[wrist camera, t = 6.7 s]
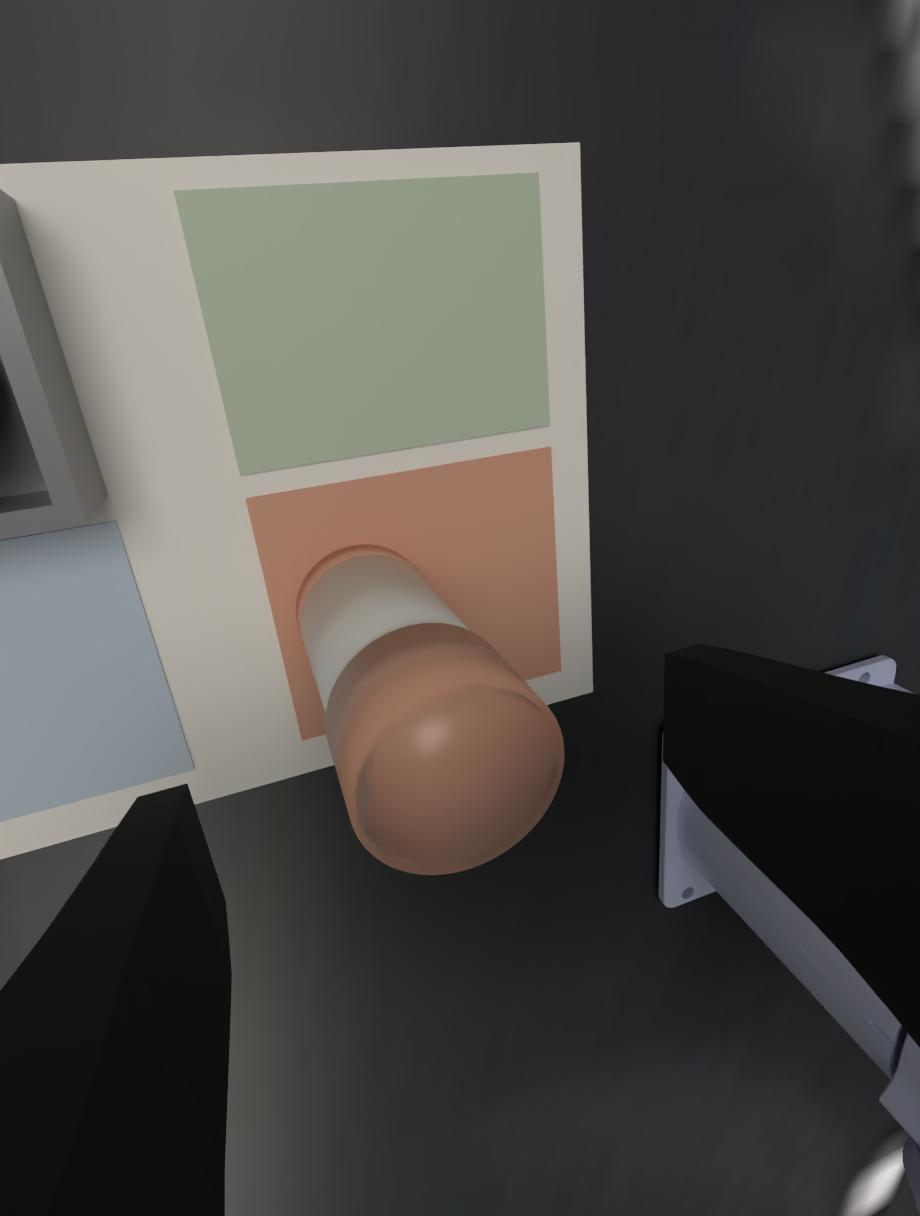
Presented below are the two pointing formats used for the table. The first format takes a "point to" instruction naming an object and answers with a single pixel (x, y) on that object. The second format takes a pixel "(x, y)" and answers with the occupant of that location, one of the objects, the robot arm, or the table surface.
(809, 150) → the table surface
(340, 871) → the table surface
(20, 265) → the button housing
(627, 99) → the table surface
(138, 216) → the board
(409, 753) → the orange and grey cylinder
